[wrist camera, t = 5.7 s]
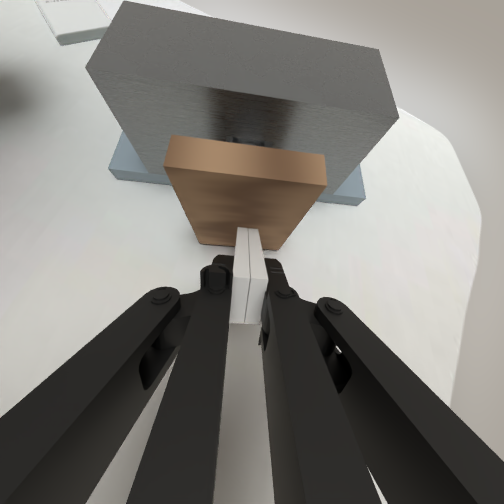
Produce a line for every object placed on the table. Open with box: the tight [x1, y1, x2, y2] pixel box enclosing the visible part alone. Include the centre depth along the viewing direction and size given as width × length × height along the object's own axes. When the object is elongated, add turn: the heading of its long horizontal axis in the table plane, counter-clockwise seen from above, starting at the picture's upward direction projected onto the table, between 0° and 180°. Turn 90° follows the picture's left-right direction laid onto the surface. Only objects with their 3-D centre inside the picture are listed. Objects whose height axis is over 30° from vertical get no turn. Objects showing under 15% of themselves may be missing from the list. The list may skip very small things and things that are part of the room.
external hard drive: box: [35, 0, 112, 46], centre depth 27 cm, size 2×8×12 cm
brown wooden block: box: [163, 135, 327, 250], centre depth 15 cm, size 8×12×10 cm
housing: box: [85, 1, 399, 206], centre depth 17 cm, size 28×9×10 cm, turn 87°
